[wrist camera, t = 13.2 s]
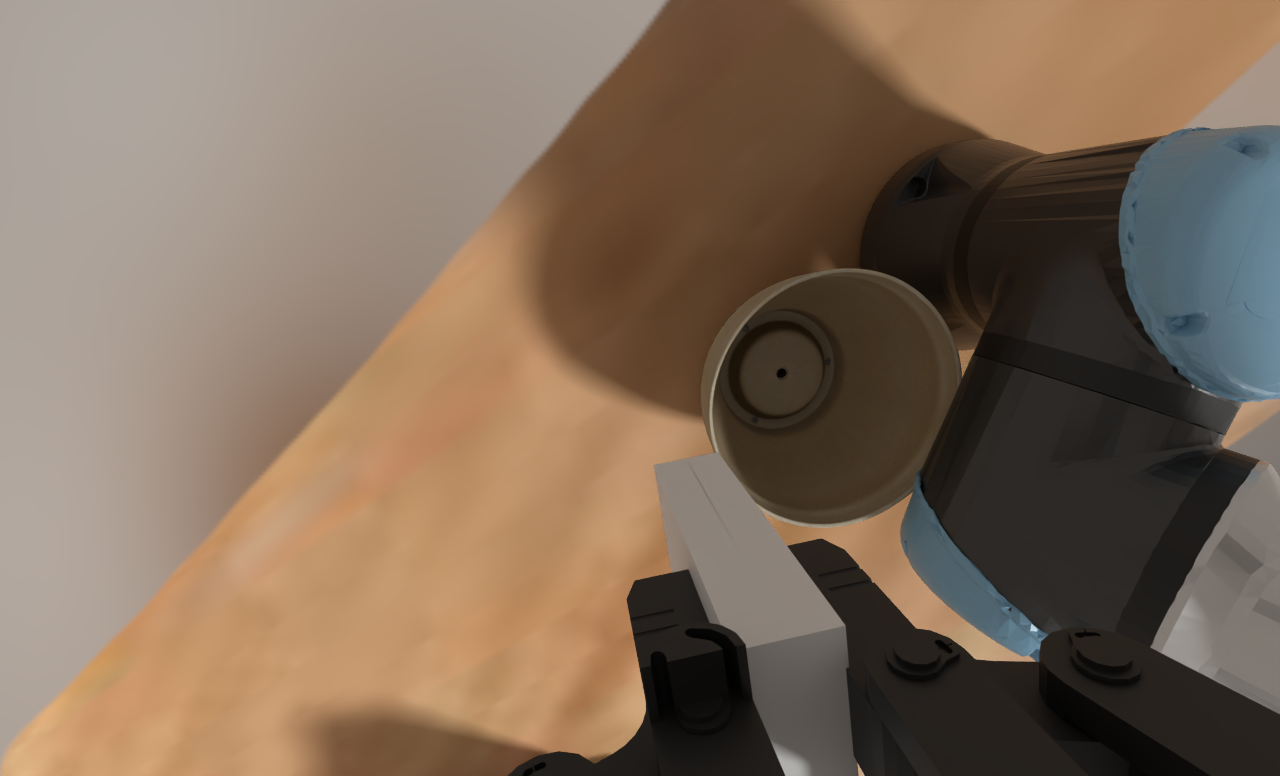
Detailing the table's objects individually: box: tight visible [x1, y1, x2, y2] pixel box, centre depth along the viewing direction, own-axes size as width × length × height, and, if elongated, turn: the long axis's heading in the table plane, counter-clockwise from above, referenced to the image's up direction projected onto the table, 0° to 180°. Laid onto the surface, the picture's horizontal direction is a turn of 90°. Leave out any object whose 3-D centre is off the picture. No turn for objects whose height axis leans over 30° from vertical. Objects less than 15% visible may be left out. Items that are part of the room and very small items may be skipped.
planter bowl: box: [701, 268, 962, 528], centre depth 43 cm, size 16×16×11 cm
